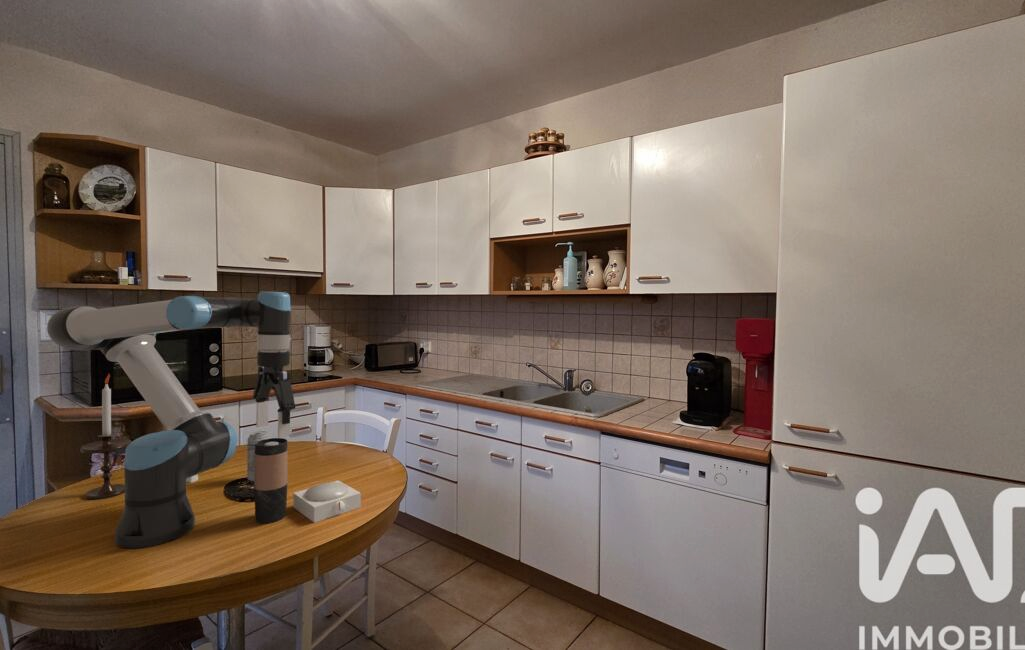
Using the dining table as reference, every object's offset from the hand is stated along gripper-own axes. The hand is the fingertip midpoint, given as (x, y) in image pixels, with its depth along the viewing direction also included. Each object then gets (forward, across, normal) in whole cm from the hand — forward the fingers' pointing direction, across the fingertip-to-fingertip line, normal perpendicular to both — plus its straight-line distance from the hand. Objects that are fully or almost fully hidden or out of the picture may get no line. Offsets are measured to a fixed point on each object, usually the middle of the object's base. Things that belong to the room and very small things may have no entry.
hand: (272, 431), depth 118 cm
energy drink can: (+23, +29, -8) cm, 38 cm away
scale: (+22, -6, -12) cm, 26 cm away
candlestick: (+23, +49, +26) cm, 60 cm away
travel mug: (+23, -1, 0) cm, 23 cm away
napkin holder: (+24, +48, +8) cm, 54 cm away
